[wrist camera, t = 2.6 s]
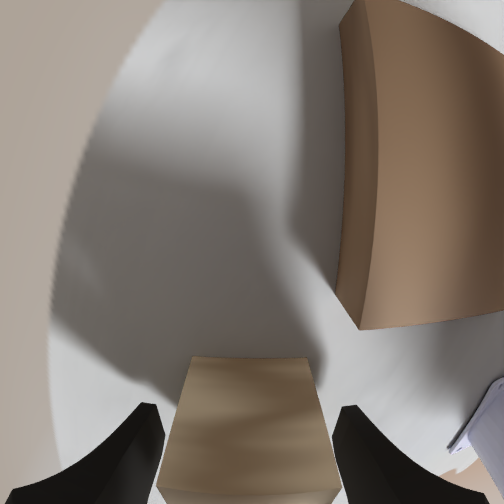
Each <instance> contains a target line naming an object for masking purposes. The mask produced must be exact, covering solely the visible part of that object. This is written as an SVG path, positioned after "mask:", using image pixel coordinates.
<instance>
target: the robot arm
mask: <svg viewBox="0 0 504 504" xmlns="http://www.w3.org/2000/svg"><path fill="white" fill-rule="evenodd" d="M164 440H165V432H164V429H163V426H162V422H161V419H160V416H159V413H158V409H157V406H156V404H150V403H144V402H142V403H140V404H139V405H138V406H137V408H136V409H135V410H134V411H133V412H132V413H131V414H130V415H129V416H128V417H127V419H126V420H125V421H124V422H123V423H122V424H121V425H120V426H119V427H118V428H117V429H116V430H115V431H114V432H113V433H112V434H111V435H110V436H109V437H108V438H107V439H106V440H105V441H103V442H102V443H101V444H100V445H99V446H98V447H97V448H95V449H94V450H93V451H92V452H90V453H89V454H88V455H87V456H85V457H84V458H82V459H81V460H80V461H78V462H77V463H75V464H73V465H72V466H70V467H68V468H67V469H65V470H63V471H61V472H60V473H58V474H56V475H54V476H51V477H49V478H47V479H44V480H42V481H40V482H37V483H34V484H30V485H27V486H23V487H19V488H15V489H13V490H12V491H11V493H10V495H9V497H8V499H7V501H6V503H5V504H147V501H148V497H149V494H150V491H151V487H152V484H153V481H154V478H155V475H156V472H157V469H158V466H159V462H160V459H161V456H162V451H163V446H164ZM332 441H333V447H334V453H335V458H336V462H337V465H338V468H339V472H340V475H341V478H342V481H343V485H344V488H345V491H346V495H347V498H348V502H349V504H489V502H488V500H487V498H486V496H485V495H484V493H481V492H477V491H473V490H470V489H466V488H463V487H460V486H458V485H455V484H453V483H450V482H448V481H446V480H444V479H442V478H440V477H438V476H436V475H434V474H432V473H430V472H429V471H427V470H426V469H424V468H423V467H421V466H420V465H418V464H417V463H415V462H414V461H413V460H411V459H410V458H409V457H408V456H406V455H405V454H404V453H403V452H402V451H400V450H399V449H398V448H397V447H396V446H395V445H394V444H393V443H392V442H391V441H390V440H389V439H388V438H387V437H386V436H385V435H384V434H383V433H382V432H381V431H380V430H379V429H378V428H377V427H376V426H375V425H374V424H373V423H372V422H371V421H370V419H369V418H368V417H367V416H366V415H365V414H364V413H363V412H362V410H361V409H360V408H359V407H358V406H357V405H351V406H344V407H342V408H341V411H340V414H339V417H338V420H337V423H336V426H335V429H334V432H333V435H332ZM471 445H472V447H473V448H474V450H475V451H476V453H477V455H478V456H479V458H480V459H481V461H482V463H483V464H484V466H485V467H486V469H487V471H488V472H489V474H490V476H491V477H492V479H493V481H494V482H495V484H496V486H497V487H498V490H499V491H500V493H501V495H502V497H503V499H504V377H503V378H500V379H498V380H496V381H495V382H494V383H493V384H492V385H491V386H490V388H489V390H488V392H487V394H486V395H485V397H484V399H483V401H482V402H481V404H480V406H479V407H478V409H477V411H476V412H475V414H474V416H473V417H472V419H471V420H470V422H469V423H468V425H467V426H466V428H465V429H464V431H463V432H462V434H461V435H460V436H459V438H458V439H457V441H456V442H455V443H454V445H453V446H452V447H451V449H450V450H449V453H450V455H452V454H454V453H456V452H459V451H461V450H463V449H465V448H467V447H469V446H471Z"/></svg>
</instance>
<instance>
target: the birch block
mask: <svg viewBox="0 0 504 504" xmlns="http://www.w3.org/2000/svg"><path fill="white" fill-rule="evenodd" d="M156 487H157V488H158V490H159V492H160V493H161V495H162V497H163V498H164V500H165V501H166V503H167V504H331V503H332V502H333V500H334V499H335V497H336V496H337V494H338V493H339V491H340V490H341V488H342V485H341V481H340V477H339V473H338V469H337V465H336V461H335V457H334V454H333V450H332V446H331V442H330V438H329V435H328V431H327V427H326V424H325V420H324V416H323V413H322V409H321V405H320V402H319V398H318V395H317V391H316V388H315V384H314V380H313V377H312V373H311V370H310V366H309V363H308V360H307V358H219V357H200V356H192V359H191V362H190V366H189V369H188V372H187V376H186V379H185V383H184V386H183V389H182V393H181V396H180V400H179V403H178V407H177V410H176V414H175V417H174V421H173V424H172V428H171V431H170V435H169V439H168V442H167V446H166V450H165V453H164V457H163V461H162V464H161V468H160V472H159V476H158V480H157V483H156Z"/></svg>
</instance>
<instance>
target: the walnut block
mask: <svg viewBox="0 0 504 504" xmlns="http://www.w3.org/2000/svg"><path fill="white" fill-rule="evenodd" d="M339 29H340V39H341V49H342V61H343V76H344V97H345V180H344V202H343V218H342V232H341V244H340V254H339V264H338V273H337V282H336V290H335V295H336V297H337V298H338V300H339V301H340V302H341V304H342V305H343V307H344V308H345V310H346V311H347V313H348V314H349V316H350V317H351V319H352V320H353V322H354V323H355V325H356V326H357V328H358V330H372V329H383V328H393V327H403V326H412V325H420V324H428V323H435V322H442V321H448V320H455V319H461V318H467V317H472V316H478V315H483V314H488V313H493V312H498V311H502V310H504V55H503V54H502V53H500V52H499V51H497V50H496V49H494V48H493V47H491V46H490V45H488V44H487V43H485V42H484V41H482V40H480V39H479V38H477V37H476V36H474V35H472V34H470V33H469V32H467V31H465V30H463V29H462V28H460V27H458V26H456V25H454V24H452V23H450V22H448V21H446V20H444V19H442V18H440V17H438V16H436V15H433V14H431V13H429V12H427V11H424V10H422V9H420V8H417V7H415V6H412V5H410V4H407V3H404V2H402V1H399V0H354V2H353V4H352V5H351V7H350V8H349V10H348V11H347V13H346V14H345V16H344V18H343V19H342V21H341V22H340V24H339Z"/></svg>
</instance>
